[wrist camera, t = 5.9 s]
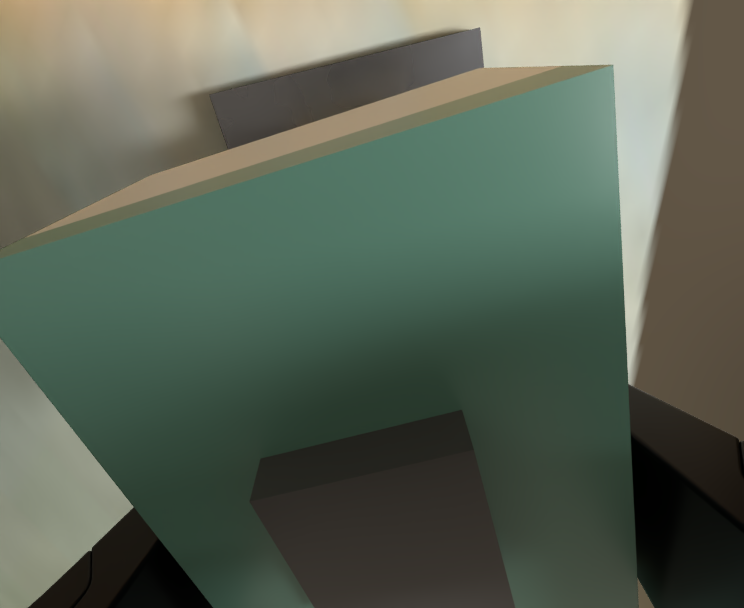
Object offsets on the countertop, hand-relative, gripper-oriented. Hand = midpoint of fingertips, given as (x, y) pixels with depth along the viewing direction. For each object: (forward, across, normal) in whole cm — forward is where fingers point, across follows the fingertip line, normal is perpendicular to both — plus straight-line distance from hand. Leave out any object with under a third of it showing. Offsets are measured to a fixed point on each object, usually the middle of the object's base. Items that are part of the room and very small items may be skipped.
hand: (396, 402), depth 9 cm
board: (+1, 0, 0) cm, 1 cm away
